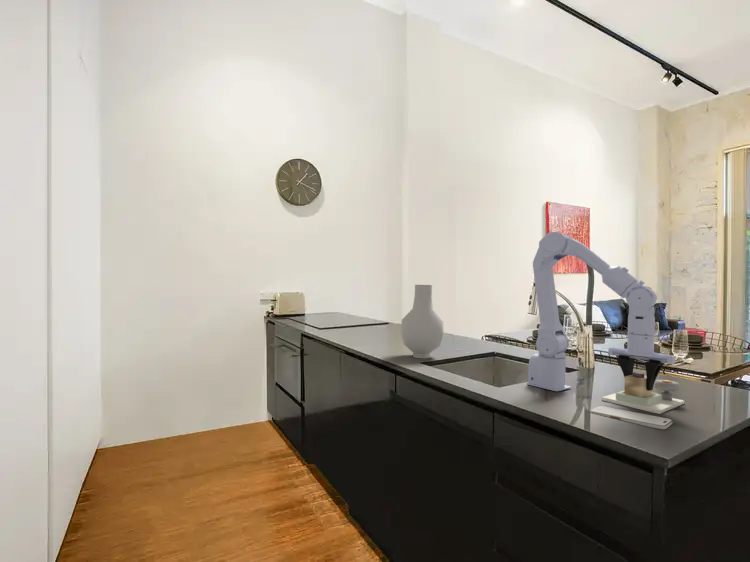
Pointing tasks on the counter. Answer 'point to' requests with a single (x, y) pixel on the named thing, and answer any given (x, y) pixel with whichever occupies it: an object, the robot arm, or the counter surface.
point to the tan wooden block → (636, 385)
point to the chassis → (645, 401)
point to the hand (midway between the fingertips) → (639, 387)
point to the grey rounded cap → (667, 385)
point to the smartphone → (633, 417)
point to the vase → (422, 324)
